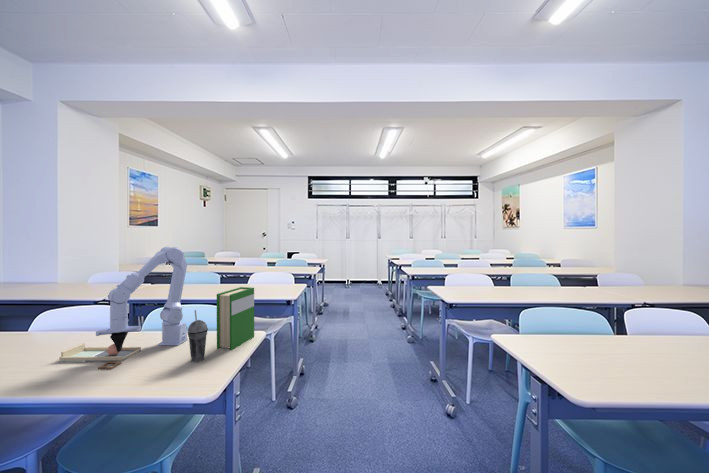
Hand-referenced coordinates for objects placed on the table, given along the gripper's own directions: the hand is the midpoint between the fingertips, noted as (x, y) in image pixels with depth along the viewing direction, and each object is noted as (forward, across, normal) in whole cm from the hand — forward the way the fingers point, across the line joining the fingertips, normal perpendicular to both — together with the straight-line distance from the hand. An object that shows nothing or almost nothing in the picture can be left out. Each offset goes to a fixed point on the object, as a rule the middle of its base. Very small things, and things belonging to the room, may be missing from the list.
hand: (119, 350), depth 122 cm
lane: (+2, +6, -3) cm, 7 cm away
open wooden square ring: (+2, 0, +10) cm, 10 cm away
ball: (-1, +2, -1) cm, 2 cm away
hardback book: (+2, -45, +1) cm, 45 cm away
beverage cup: (+3, -30, +16) cm, 34 cm away
